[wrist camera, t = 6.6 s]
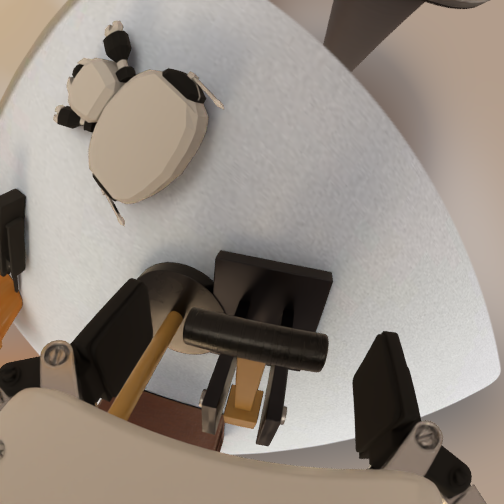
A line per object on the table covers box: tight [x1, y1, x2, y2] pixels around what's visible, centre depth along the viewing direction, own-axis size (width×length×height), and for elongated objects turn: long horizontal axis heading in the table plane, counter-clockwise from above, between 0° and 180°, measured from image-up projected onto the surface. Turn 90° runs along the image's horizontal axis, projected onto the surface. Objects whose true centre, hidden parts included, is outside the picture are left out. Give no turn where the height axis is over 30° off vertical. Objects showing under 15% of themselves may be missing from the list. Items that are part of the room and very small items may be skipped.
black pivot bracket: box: [199, 250, 333, 446], centre depth 22 cm, size 12×10×13 cm
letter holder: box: [98, 391, 225, 452], centre depth 35 cm, size 10×20×14 cm, turn 84°
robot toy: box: [53, 21, 224, 226], centre depth 19 cm, size 12×4×15 cm
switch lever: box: [183, 307, 329, 429], centre depth 14 cm, size 13×5×2 cm, turn 172°
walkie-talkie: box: [0, 189, 25, 293], centre depth 29 cm, size 6×6×20 cm
